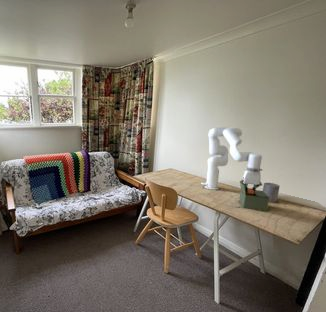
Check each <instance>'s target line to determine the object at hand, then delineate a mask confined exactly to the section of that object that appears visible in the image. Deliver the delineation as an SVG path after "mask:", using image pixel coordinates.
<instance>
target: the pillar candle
mask: <svg viewBox="0 0 326 312" xmlns="http://www.w3.org/2000/svg"><path fill="white" fill-rule="evenodd" d="M262 186H263V188H262V191H263V192H264V193H265V194H267V195H268V196H269V202H268V203H276V202H277V201H278V197H279V192H280V187H281V185H279V184H277V183H274V182H264V183H263V185H262Z"/></svg>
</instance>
